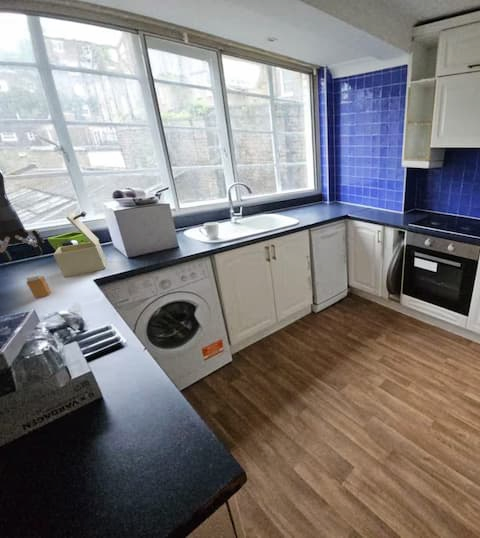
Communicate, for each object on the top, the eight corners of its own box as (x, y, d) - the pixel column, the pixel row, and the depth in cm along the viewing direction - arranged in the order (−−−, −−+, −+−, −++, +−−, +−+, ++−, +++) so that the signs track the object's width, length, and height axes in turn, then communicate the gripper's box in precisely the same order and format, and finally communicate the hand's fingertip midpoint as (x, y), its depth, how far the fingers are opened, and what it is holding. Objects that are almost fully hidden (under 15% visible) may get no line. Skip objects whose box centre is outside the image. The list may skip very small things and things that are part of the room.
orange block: (35, 298, 122) (24, 278, 118) (37, 294, 125) (27, 275, 121) (49, 295, 124) (39, 275, 120) (51, 291, 127) (41, 272, 123)
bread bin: (64, 277, 141) (53, 254, 136) (68, 268, 151) (58, 247, 146) (105, 268, 149) (96, 247, 144) (107, 261, 159) (98, 240, 155)
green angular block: (101, 251, 175) (92, 231, 170) (77, 260, 162) (67, 238, 157) (81, 251, 177) (72, 231, 172) (56, 260, 164) (45, 238, 159)
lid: (66, 217, 135) (79, 211, 137) (70, 213, 145) (83, 207, 147) (95, 246, 144) (107, 240, 146) (97, 240, 154) (108, 234, 156)
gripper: (32, 213, 118) (51, 251, 125) (-21, 219, 111) (2, 259, 117) (27, 216, 112) (47, 256, 119) (-28, 223, 105) (-4, 265, 111)
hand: (25, 257), depth 118 cm, fingers open, 8 cm apart
